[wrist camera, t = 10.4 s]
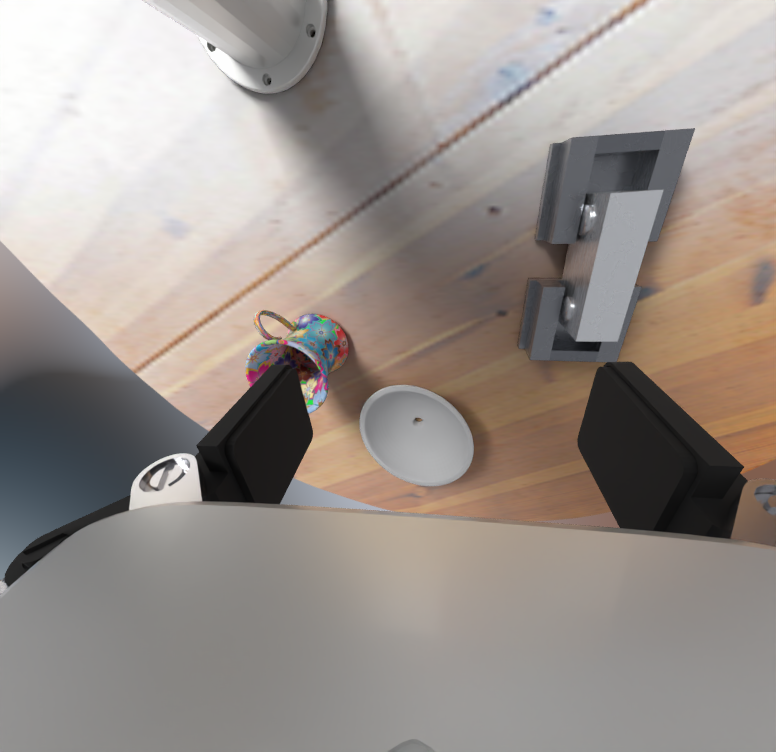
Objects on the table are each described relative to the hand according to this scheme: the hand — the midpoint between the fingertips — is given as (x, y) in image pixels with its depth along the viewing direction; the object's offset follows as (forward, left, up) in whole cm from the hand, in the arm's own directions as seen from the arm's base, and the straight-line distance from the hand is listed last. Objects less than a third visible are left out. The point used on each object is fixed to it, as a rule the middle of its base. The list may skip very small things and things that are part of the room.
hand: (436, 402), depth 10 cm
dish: (+23, -3, -30) cm, 37 cm away
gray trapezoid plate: (+1, +14, -28) cm, 32 cm away
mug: (+10, -17, -30) cm, 35 cm away
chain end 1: (-5, +14, -29) cm, 33 cm away
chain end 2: (+7, +14, -29) cm, 33 cm away
